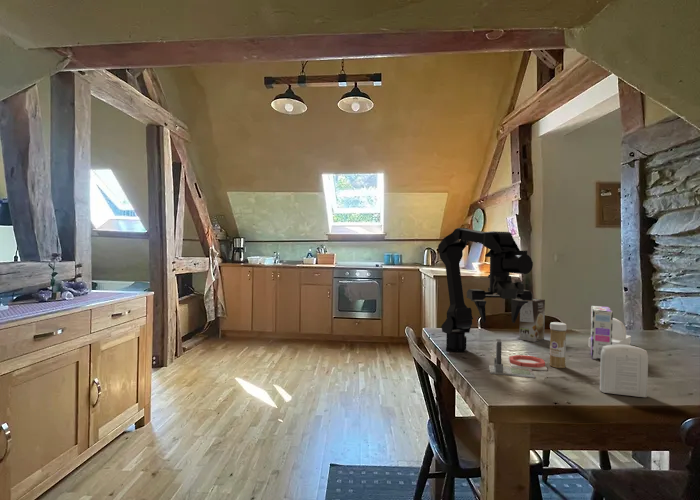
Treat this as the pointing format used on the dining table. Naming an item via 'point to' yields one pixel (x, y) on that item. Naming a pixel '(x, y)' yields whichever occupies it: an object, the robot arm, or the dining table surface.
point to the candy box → (600, 329)
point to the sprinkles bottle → (558, 344)
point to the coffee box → (532, 320)
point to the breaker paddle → (498, 350)
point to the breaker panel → (510, 370)
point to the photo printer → (624, 370)
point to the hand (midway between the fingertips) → (498, 322)
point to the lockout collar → (527, 362)
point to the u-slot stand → (618, 334)
